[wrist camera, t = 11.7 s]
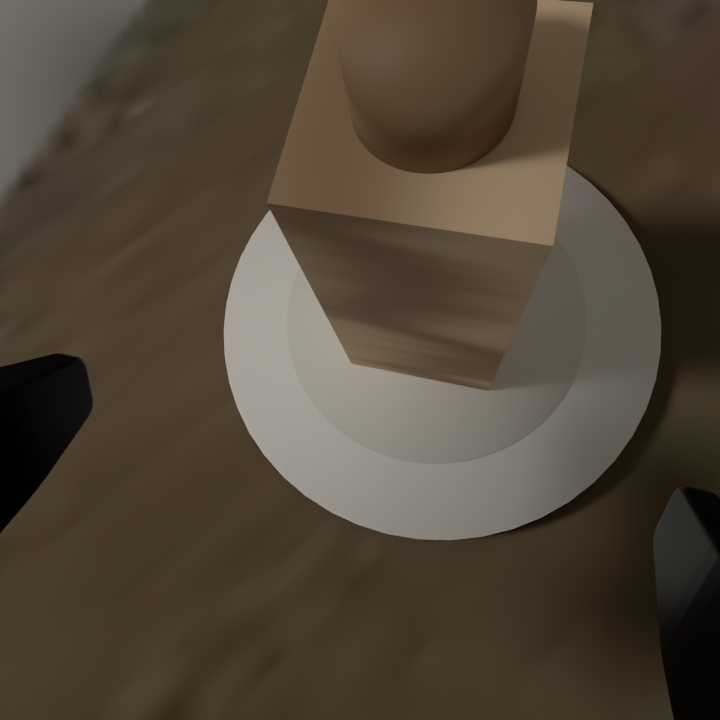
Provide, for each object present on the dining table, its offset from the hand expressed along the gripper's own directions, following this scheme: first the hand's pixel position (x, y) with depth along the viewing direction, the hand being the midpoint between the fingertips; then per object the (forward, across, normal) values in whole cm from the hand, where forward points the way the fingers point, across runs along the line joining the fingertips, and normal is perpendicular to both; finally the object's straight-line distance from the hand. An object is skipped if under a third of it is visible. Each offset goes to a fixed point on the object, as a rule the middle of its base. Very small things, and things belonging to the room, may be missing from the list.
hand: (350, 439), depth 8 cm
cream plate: (+13, 0, +4) cm, 14 cm away
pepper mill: (+12, 0, +4) cm, 13 cm away
